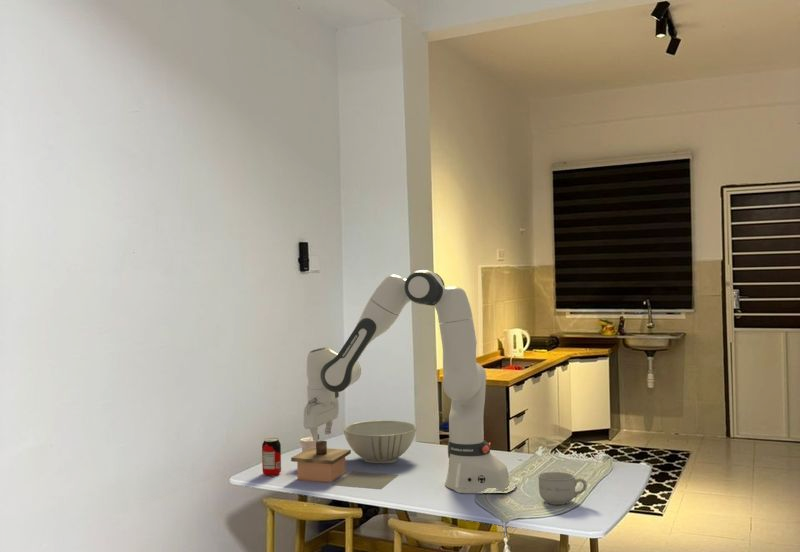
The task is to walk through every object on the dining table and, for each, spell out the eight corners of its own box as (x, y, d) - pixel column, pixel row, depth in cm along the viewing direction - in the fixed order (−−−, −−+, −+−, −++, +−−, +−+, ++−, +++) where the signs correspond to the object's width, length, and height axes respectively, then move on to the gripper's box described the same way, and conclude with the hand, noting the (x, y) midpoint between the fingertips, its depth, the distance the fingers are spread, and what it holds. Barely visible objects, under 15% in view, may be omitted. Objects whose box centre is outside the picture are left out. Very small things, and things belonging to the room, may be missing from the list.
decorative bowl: (391, 473, 243) (391, 438, 243) (329, 464, 257) (328, 431, 258) (430, 456, 266) (429, 424, 266) (370, 448, 280) (370, 418, 280)
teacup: (532, 504, 209) (532, 476, 209) (547, 494, 218) (546, 468, 218) (579, 512, 201) (578, 483, 201) (591, 501, 210) (591, 474, 210)
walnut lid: (350, 453, 245) (350, 438, 245) (332, 464, 230) (332, 448, 230) (311, 450, 249) (311, 435, 249) (291, 461, 235) (290, 445, 235)
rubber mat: (398, 476, 240) (398, 474, 240) (381, 491, 224) (381, 489, 224) (352, 472, 245) (352, 471, 245) (331, 486, 229) (331, 485, 229)
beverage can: (285, 473, 247) (284, 438, 247) (272, 477, 242) (271, 442, 242) (271, 470, 250) (271, 436, 250) (258, 475, 245) (258, 440, 245)
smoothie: (315, 468, 252) (314, 429, 252) (298, 468, 253) (297, 428, 253) (320, 464, 258) (320, 425, 258) (304, 463, 260) (303, 425, 260)
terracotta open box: (345, 474, 244) (345, 454, 244) (330, 484, 232) (330, 462, 232) (313, 472, 248) (313, 451, 248) (297, 481, 236) (297, 460, 236)
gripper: (315, 401, 229) (317, 444, 229) (341, 391, 248) (342, 431, 248) (298, 401, 231) (299, 443, 231) (324, 391, 250) (326, 430, 250)
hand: (322, 437), depth 240 cm, fingers open, 8 cm apart
